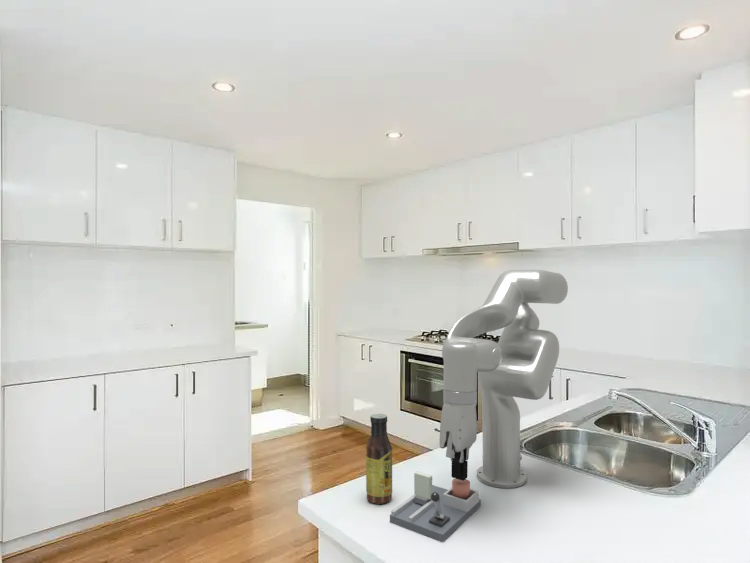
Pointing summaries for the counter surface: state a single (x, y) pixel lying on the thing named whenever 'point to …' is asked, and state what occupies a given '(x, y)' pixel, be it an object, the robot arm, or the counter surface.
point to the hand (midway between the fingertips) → (459, 477)
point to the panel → (423, 515)
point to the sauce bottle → (379, 462)
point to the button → (461, 488)
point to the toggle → (437, 506)
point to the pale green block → (422, 488)
